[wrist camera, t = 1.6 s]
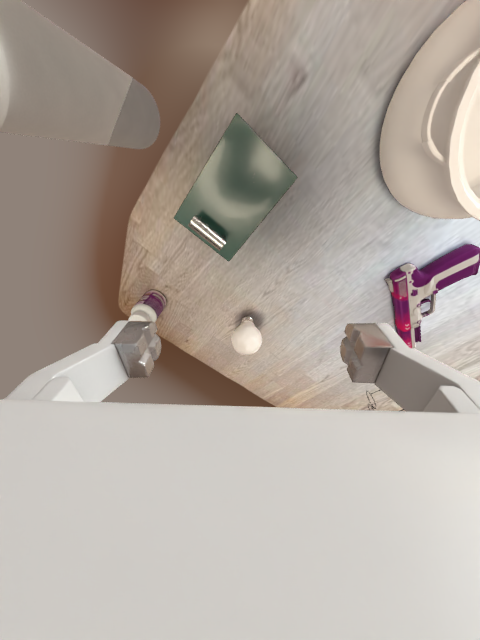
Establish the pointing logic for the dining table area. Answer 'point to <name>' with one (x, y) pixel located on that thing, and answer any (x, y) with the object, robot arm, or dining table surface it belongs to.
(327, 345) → the dining table surface
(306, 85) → the dining table surface
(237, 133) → the lid
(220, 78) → the dining table surface
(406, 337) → the toy gun
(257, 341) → the light bulb
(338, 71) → the dining table surface
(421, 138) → the pot
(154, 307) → the pill bottle
